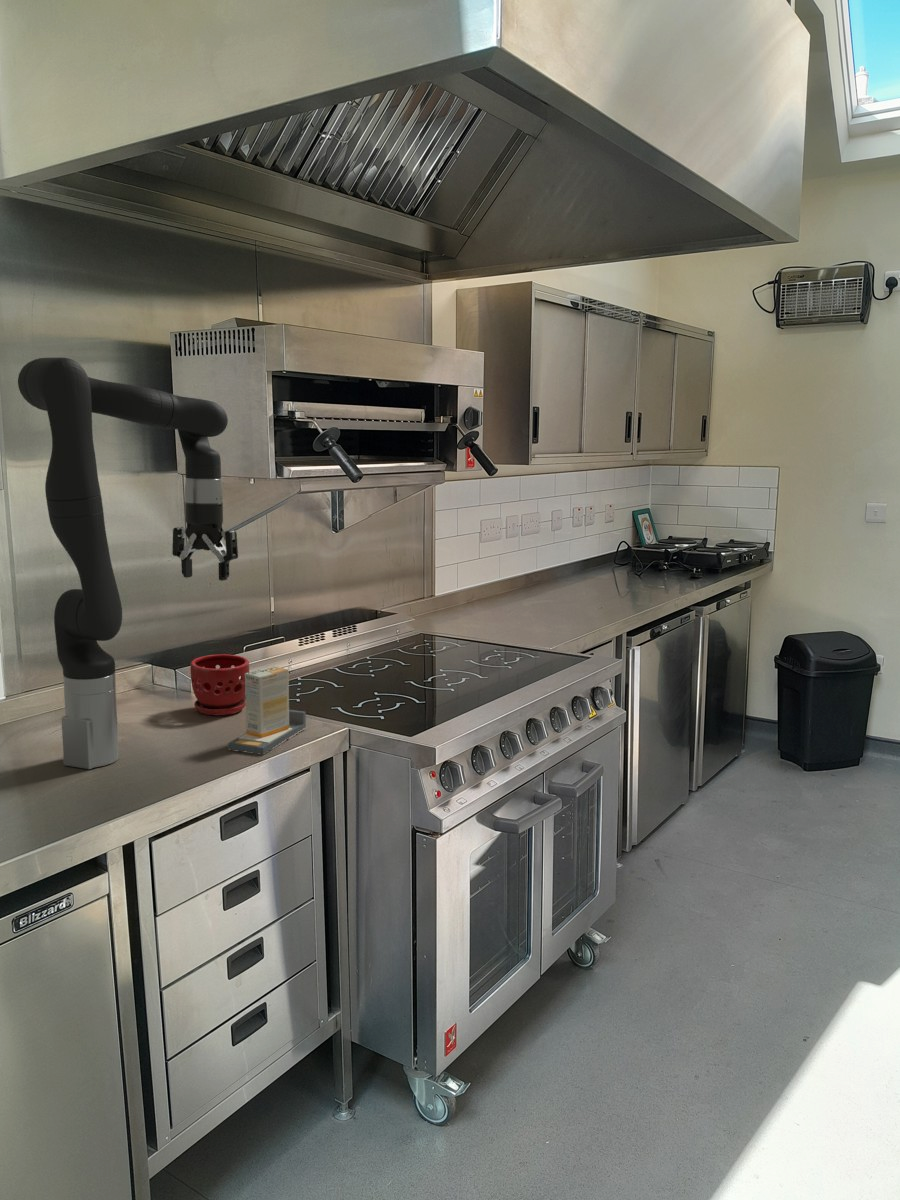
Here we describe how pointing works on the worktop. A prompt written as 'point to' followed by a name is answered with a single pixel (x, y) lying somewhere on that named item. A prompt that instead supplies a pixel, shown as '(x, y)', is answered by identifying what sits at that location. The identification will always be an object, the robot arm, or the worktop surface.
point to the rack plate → (269, 736)
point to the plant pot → (219, 683)
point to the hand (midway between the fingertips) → (205, 578)
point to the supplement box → (267, 701)
